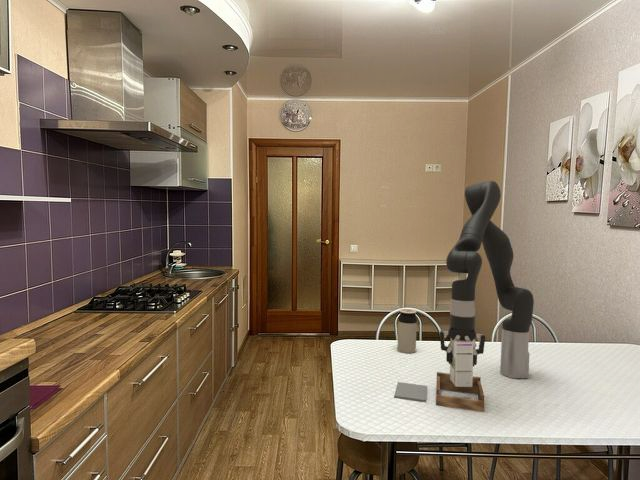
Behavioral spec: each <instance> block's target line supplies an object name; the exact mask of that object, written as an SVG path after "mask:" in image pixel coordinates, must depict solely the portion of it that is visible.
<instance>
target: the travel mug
mask: <svg viewBox="0 0 640 480" xmlns="http://www.w3.org/2000/svg"><path fill="white" fill-rule="evenodd" d="M416 314H417V310H415V309H412V308H400V309H399V316H398V320H397V323H398V324H397V325H398V326H397V348H396V349H397V351H398V352H400V353H403V354H413V353H415V352H416V350H417V327H418V326H417V323H418V318H417V316H416Z"/></svg>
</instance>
